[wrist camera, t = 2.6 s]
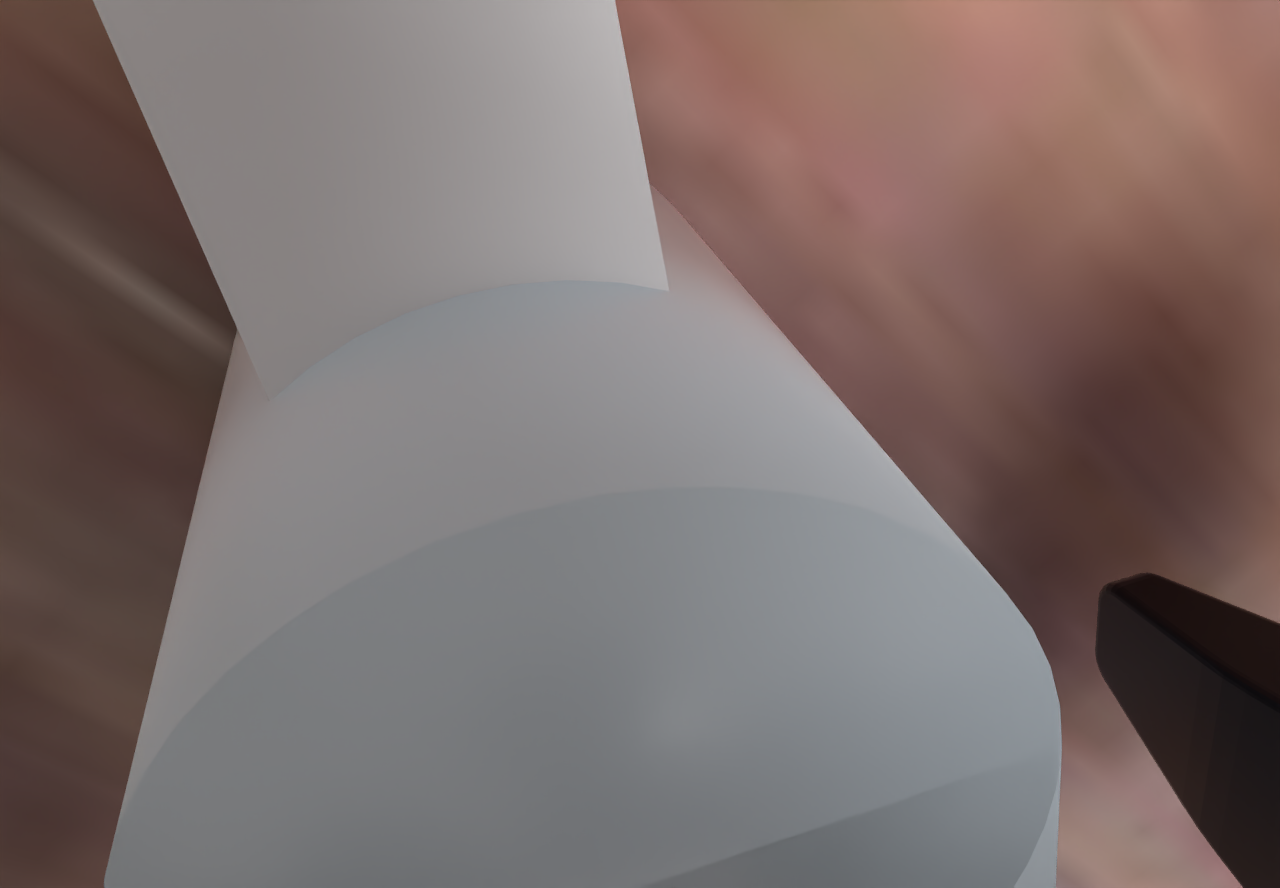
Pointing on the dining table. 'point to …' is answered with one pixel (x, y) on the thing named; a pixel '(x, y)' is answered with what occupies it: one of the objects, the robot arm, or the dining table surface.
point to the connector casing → (534, 507)
